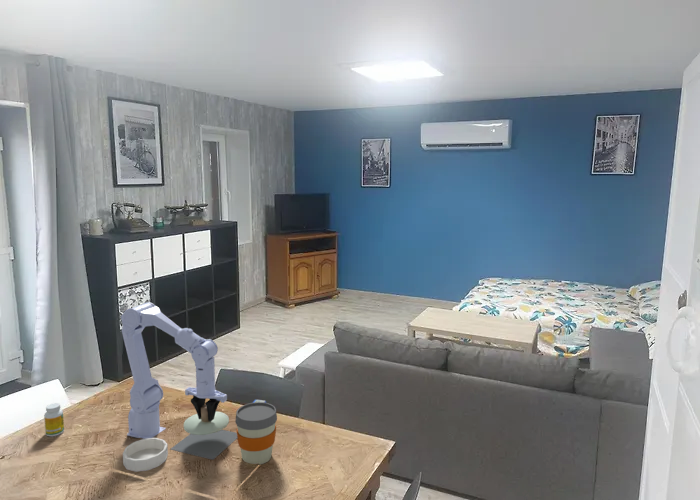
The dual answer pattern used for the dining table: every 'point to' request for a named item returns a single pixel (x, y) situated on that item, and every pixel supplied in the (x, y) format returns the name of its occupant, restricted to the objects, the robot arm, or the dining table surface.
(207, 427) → the lid
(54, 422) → the supplement bottle
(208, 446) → the mat
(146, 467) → the bowl
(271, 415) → the reusable coffee cup
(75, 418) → the dining table surface
